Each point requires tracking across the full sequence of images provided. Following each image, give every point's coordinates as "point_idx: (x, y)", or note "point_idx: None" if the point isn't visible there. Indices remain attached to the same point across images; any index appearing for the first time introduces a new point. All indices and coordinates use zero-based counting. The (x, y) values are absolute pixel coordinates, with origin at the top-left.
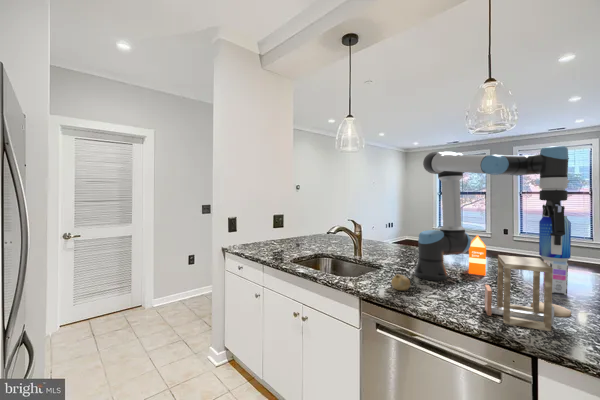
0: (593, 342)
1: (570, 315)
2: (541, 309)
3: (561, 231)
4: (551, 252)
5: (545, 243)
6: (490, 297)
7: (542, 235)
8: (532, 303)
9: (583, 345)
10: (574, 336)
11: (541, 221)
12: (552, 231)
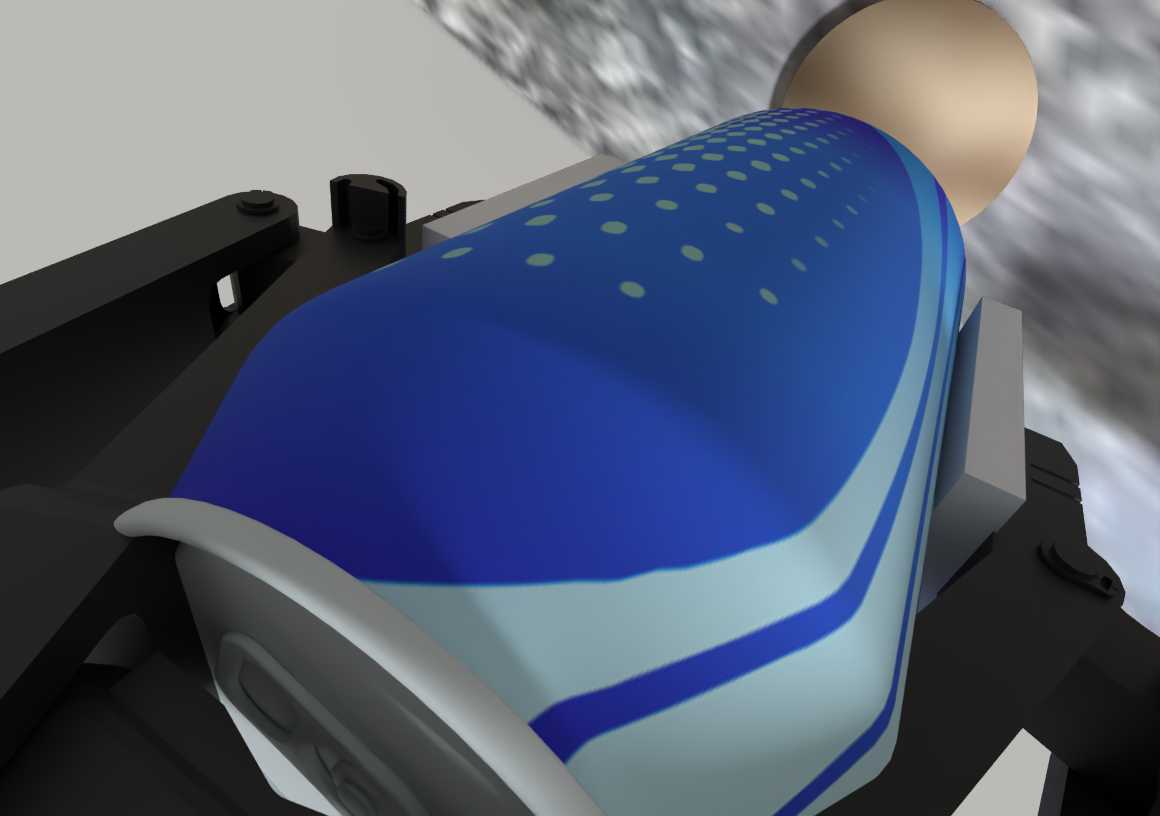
0: (505, 78)
1: None
2: (862, 36)
3: (234, 296)
4: (601, 161)
5: (634, 160)
6: None
7: (624, 174)
8: (1004, 33)
9: (465, 3)
10: (540, 22)
11: (420, 305)
12: (369, 264)
